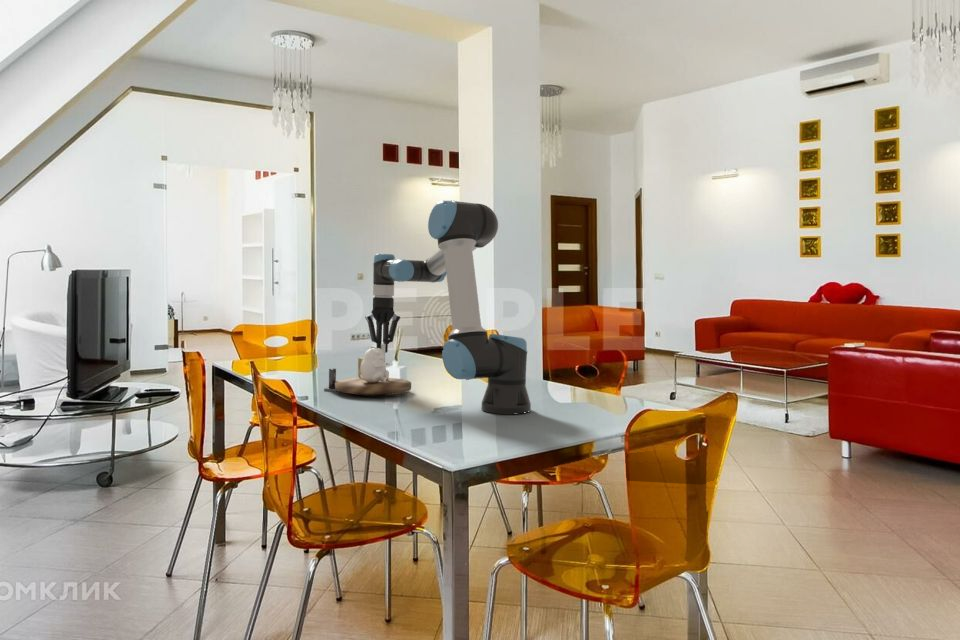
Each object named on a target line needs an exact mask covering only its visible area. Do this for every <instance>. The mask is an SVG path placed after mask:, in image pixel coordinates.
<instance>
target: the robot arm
mask: <svg viewBox="0 0 960 640" xmlns="http://www.w3.org/2000/svg"><path fill="white" fill-rule="evenodd" d="M427 230H428V233H429V235H430V237H431V238H432V239H434V240H437V247H438V250H436V251H435V252H434V253H432V255H431V256H429V257H428V258H426V260H418V259H417V260H413V259H402V258H398V259H396V257H395V255H394V254H392V253H391V254H390V253H376V254H375V255H374V257H373V264H372V266H373V268H372V269H373V270H372V271H373V275H372V276H373V279H372V280H373V282H372V283H373V285H372V288H373V289H372V295H373V296H374V297H373V298H372V309H371V312H370V314H368V315H365V316H364V319H365V320H366V321H367V325H368V330H369V335H370V339H371V342H373V343H375V344H376V347H375V348H380V349H381V350H382V351H383V352H384V360H385V361H386V353H388V351H389V350H388V349H389V347H388V345H389V344H390V343H392V342H394V339H395V338H394V337H395V333H396V330H397V326H398V323H399V321H400V320H401V316H399V315H397V314H396V313H395V310H394V307H395V306H394V304H395V303H394V301H395V298H394V296H395V282H398V283H403V282H413V283H414V282H416V283H417V282H418V283H419V282H421V283H441V282H443V281H444V280H445V279H446V282H447V283H446V284H447V292H448V298H449V299H448V300H449V308H450V317H451V327H452V329H451V332H450V333H449V334H448V336H447V337H448V340H447V341H446V342H445V343H444V345H443V346H442V349H443V350H442V351H441V352H442V353H441V357H442V362H443V366H444V368H445V371H447V373H448V375H450V376H451V377H452V378H453V379H456V380H466V381H469V380H474V379H476V380H477V379H486V378H487V386H486V389H485V392H484V395H483V398H482V400H481V409H480V410H482V411H483V412H486V413H489V414H496V415H497V414H498V415H515V414H514V413H524V412H528V411H530V410H531V409H532V407H531V406H532V404H531V400H530V395H529V393H528V390H527V384H526V383H527V382H526V381H527V361H528V360H527V358H528V350H527V349H528V348H527V345H528V344H527V340H526V339H525V338H523V337H518V336H511V335H504V334H503V335H502V334H496V333H495V334H494V333H490V334H489V335H488V330H486V328H484V327H483V326H482V321H481V313H480V305H479V303H480V302H479V295H478V286H477V279H476V271H475V261H474V254H473V252H474V251H475V250H476V249H478V248H479V249H482V248H484V247H485V246H487V245H489V244H490V243H491V242H492V241H493V240H494V238H495V237H496V235H497V233H498V230H499V221H498V217H497V214H496V213H495V212H494V210H493V209H492V208H490V207H489V206H487V204H486V205H485V204H483V203H474V202H467V201H466V202H465V201H457V200H454V199H453V200H452V199H451V200H440V201H438V202H437V203H435V205H434V206H433V208H432V209H431V212H430V213H429V215H428V223H427ZM373 320H375V323H374V321H373ZM391 320H392V321H391ZM390 321H391V324H390ZM375 326H376V329H375ZM530 412H531V411H530ZM528 413H529V412H528ZM524 414H525V413H524Z"/></svg>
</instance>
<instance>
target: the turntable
mask: <svg viewBox="0 0 960 640" xmlns="http://www.w3.org/2000/svg"><path fill="white" fill-rule="evenodd" d="M357 359H358V360H357V377H351V378H342V379H339V380H338V379H337V380H336V382H335V389H336V390H337V391H336V392H341V393H346V394H354V395H356V394H369V395H379V394H390V395H394V394H403V393H407V392H408V391H411V390H412V381H410V380H408V379H403V378H396V377H395V378H394V377H389V378H388V381H385V382H384V383H382V382H381V380H380V381H378V382H375V383H370V382H367V381H365V380H364V379H362V378H361V377H360V375H361V371H360V367H361V363H362V361H363V359H364V356H363V357H357Z"/></svg>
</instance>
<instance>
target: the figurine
mask: <svg viewBox="0 0 960 640" xmlns="http://www.w3.org/2000/svg"><path fill="white" fill-rule="evenodd" d="M363 357H364V359H363V361H362V363H361V367H360V371H361V375H360V377H361V378H362V379H364V380H365V381H367V382H370V383H375V382H378V381H380V380H381V382H382V383H384V382H385V381H388V378H390V371H389V370H388V369H387V367H386V366H390V362H386V359H385V360H384V352H383V351H382V350H381V349H380V348H376V347H372V348H371V347H370V348H369V349H367V350H366V351H365V352H364V355H363Z"/></svg>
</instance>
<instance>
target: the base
mask: <svg viewBox="0 0 960 640" xmlns="http://www.w3.org/2000/svg"><path fill="white" fill-rule="evenodd" d="M336 381H337V368H329V369H328V386H327V387H324V388H323V391H324V392H338V391H337V390H336V389H335V382H336ZM363 395H365V396H364V397H381V396H389V394H379V395H369V394H358V395H357V396H363Z"/></svg>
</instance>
